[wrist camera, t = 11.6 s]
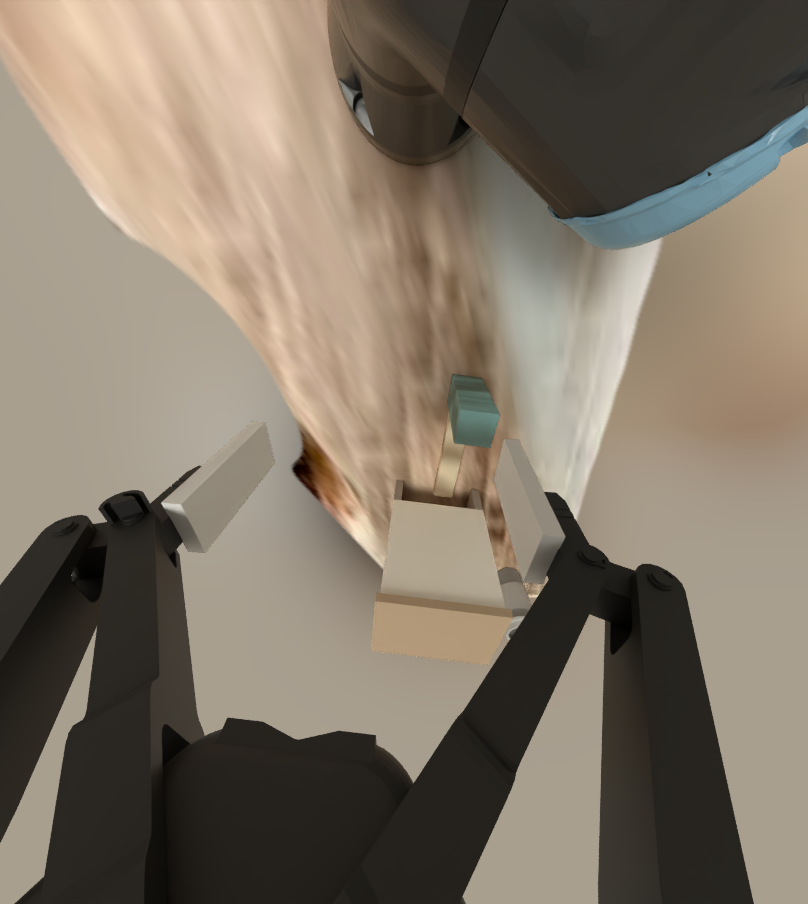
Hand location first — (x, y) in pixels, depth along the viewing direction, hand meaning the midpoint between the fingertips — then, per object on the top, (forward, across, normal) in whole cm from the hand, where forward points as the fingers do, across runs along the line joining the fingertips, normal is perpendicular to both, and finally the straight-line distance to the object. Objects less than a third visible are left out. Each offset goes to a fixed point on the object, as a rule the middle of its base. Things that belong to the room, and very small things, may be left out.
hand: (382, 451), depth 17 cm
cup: (+26, +22, -45) cm, 57 cm away
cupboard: (+26, +5, -28) cm, 38 cm away
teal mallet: (+26, +7, -14) cm, 30 cm away
